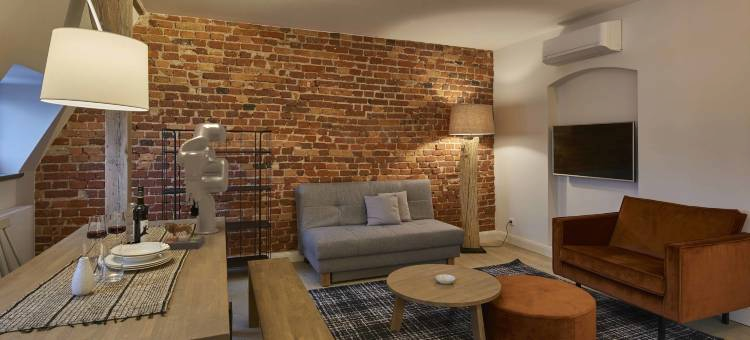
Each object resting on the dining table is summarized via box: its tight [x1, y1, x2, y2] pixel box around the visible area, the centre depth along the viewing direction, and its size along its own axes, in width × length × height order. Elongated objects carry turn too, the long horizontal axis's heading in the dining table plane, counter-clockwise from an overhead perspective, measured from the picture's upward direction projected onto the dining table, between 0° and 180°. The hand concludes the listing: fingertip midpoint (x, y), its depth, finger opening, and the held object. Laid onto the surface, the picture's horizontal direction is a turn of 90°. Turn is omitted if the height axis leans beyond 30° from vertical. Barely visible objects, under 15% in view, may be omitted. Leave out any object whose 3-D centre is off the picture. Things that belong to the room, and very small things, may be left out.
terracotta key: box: [166, 235, 180, 241], centre depth 202 cm, size 4×4×2 cm
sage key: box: [190, 236, 202, 241], centre depth 204 cm, size 4×4×2 cm
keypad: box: [162, 236, 206, 251], centre depth 202 cm, size 12×16×3 cm
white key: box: [178, 235, 191, 241], centre depth 203 cm, size 4×4×2 cm
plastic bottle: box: [124, 202, 137, 243], centre depth 208 cm, size 6×7×20 cm
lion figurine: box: [164, 221, 196, 237], centre depth 220 cm, size 15×5×9 cm, turn 120°
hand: (195, 215), depth 203 cm, fingers closed
